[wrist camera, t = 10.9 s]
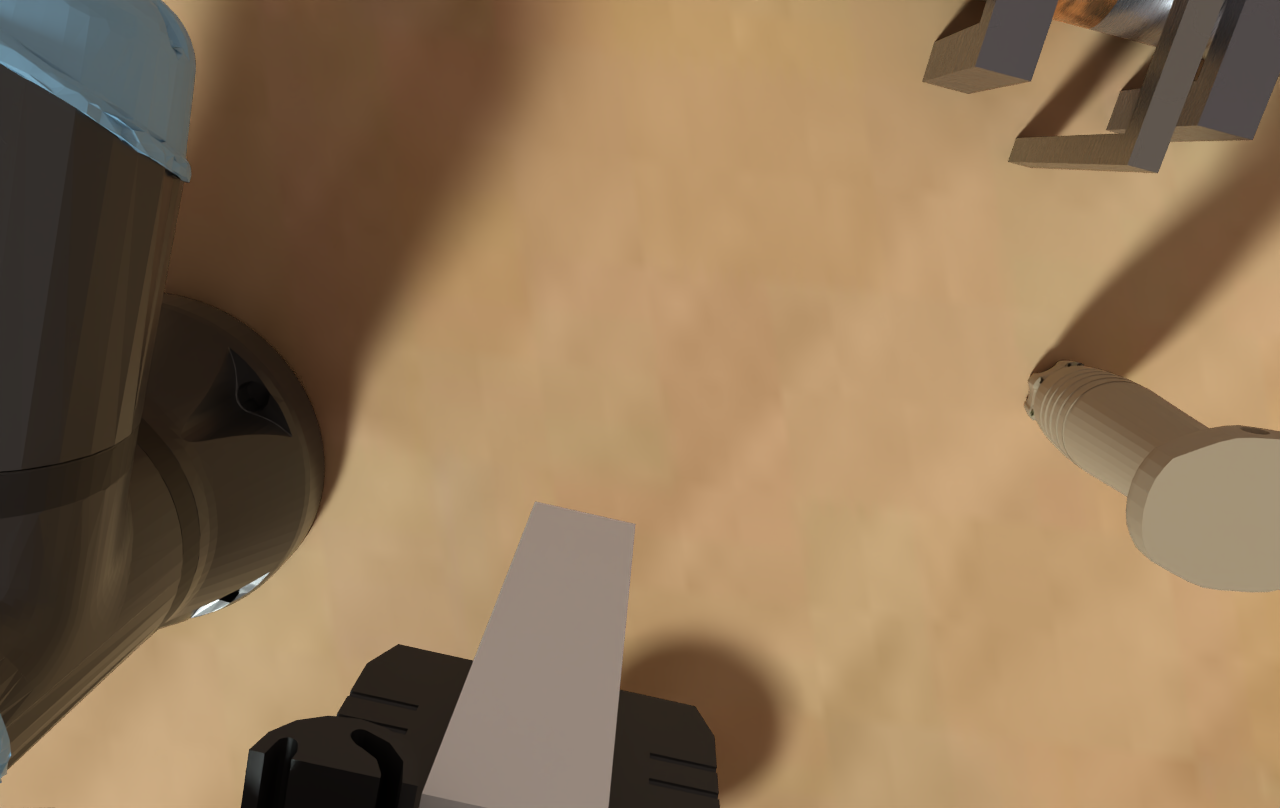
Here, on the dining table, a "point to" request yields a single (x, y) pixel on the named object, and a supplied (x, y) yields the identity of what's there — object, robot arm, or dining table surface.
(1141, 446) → the handle
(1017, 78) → the dark grey arch
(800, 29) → the dining table surface
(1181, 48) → the frame
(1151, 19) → the tube
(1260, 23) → the collar
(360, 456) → the dining table surface
